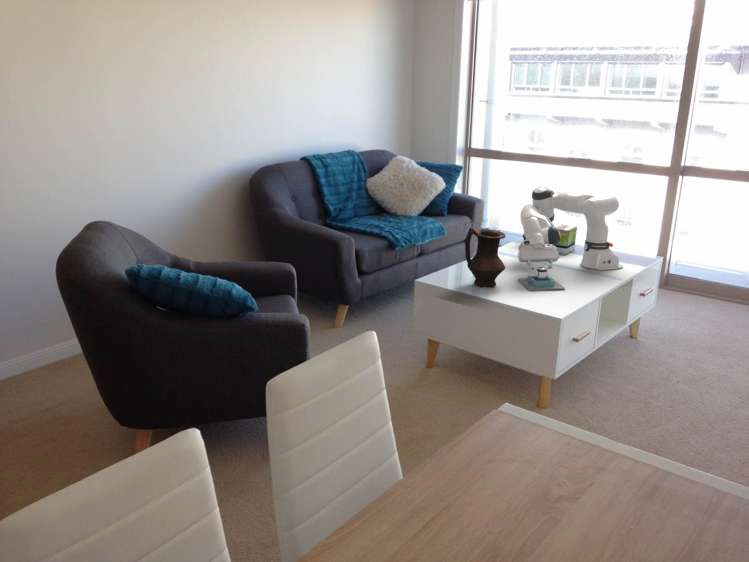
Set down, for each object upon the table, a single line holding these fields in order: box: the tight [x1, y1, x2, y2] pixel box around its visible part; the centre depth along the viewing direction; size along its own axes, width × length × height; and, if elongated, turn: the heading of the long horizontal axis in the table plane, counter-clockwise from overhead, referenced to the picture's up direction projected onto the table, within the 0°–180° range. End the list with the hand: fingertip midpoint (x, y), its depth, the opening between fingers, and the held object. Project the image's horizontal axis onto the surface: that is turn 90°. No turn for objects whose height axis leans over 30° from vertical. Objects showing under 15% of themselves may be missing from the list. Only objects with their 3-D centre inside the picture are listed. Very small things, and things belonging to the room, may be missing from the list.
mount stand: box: [517, 275, 566, 292], centre depth 329 cm, size 18×18×4 cm
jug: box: [464, 226, 506, 288], centre depth 325 cm, size 21×18×30 cm
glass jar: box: [535, 266, 548, 281], centre depth 328 cm, size 5×5×8 cm
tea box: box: [553, 224, 578, 255], centre depth 395 cm, size 15×10×15 cm
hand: (541, 268), depth 327 cm, fingers open, 8 cm apart
